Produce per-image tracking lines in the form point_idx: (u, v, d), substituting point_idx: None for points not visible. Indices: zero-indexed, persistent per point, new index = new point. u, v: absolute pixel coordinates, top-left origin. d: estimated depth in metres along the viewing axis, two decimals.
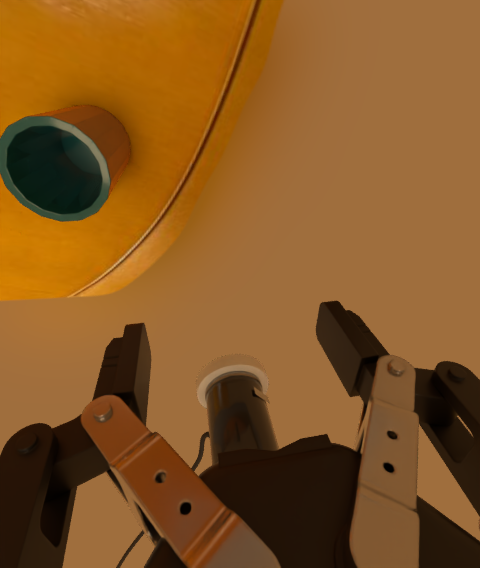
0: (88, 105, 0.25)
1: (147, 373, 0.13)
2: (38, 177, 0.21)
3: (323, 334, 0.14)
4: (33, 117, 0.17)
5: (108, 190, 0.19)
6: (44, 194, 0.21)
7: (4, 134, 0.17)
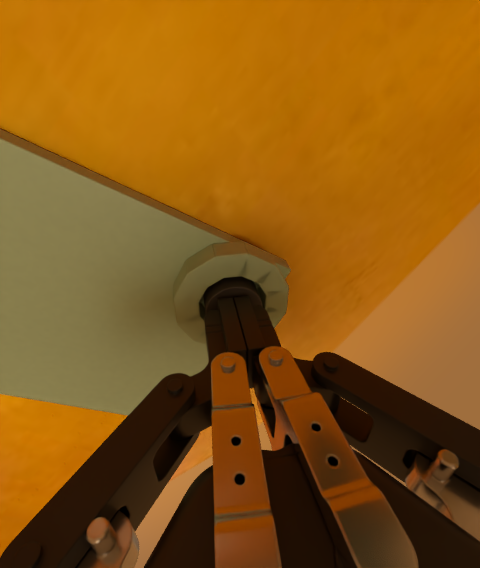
0: None
1: None
2: None
3: None
4: None
5: None
6: None
7: None
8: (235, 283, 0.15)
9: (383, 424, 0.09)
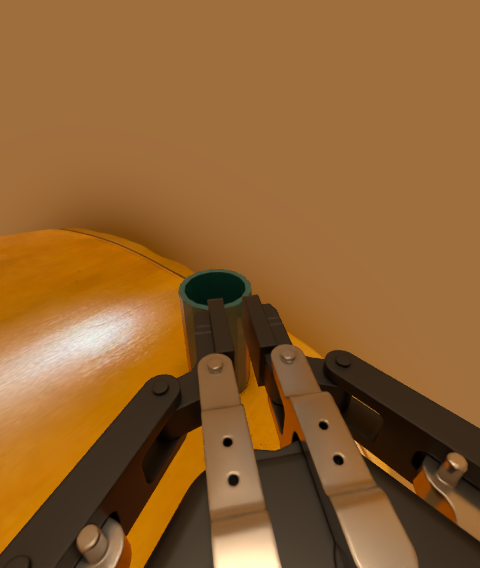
0: None
1: None
2: None
3: (245, 327, 0.15)
4: (182, 282, 0.26)
5: (239, 274, 0.28)
6: None
7: (180, 294, 0.25)
8: None
9: (392, 424, 0.09)
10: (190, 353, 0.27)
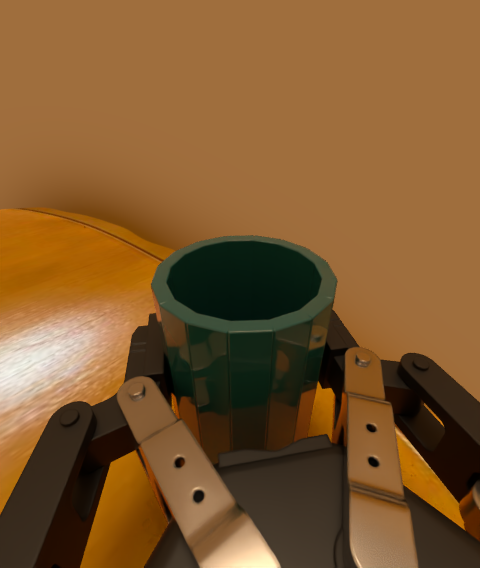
0: None
1: None
2: None
3: None
4: (164, 260, 0.11)
5: (294, 245, 0.12)
6: None
7: (156, 290, 0.09)
8: None
9: (454, 436, 0.09)
10: None
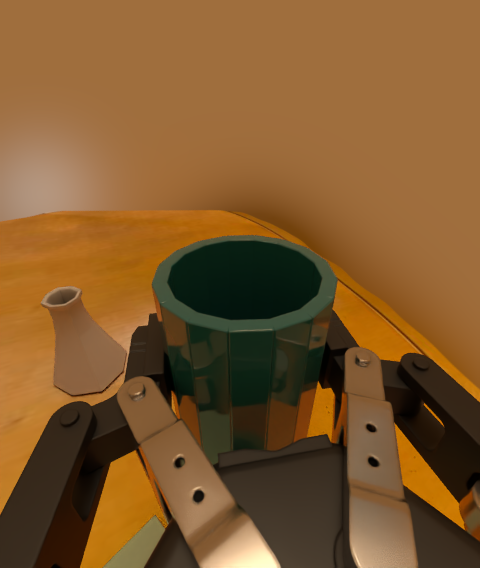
0: None
1: None
2: None
3: None
4: (164, 260, 0.11)
5: (295, 244, 0.12)
6: None
7: (156, 289, 0.09)
8: None
9: (454, 436, 0.09)
10: None
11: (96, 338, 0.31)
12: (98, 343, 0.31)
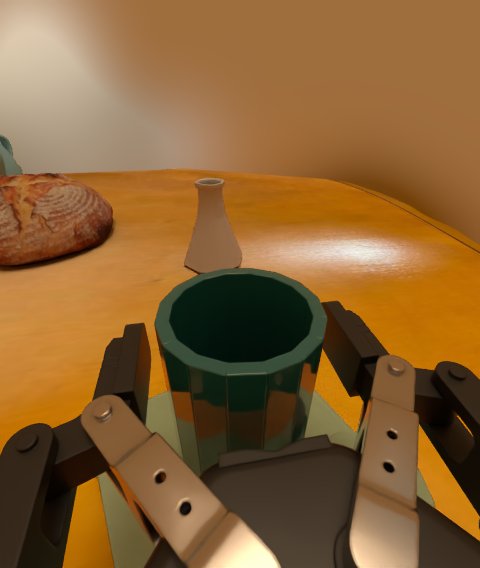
0: None
1: (147, 373, 0.13)
2: None
3: None
4: (166, 296, 0.12)
5: (289, 278, 0.13)
6: None
7: (159, 329, 0.10)
8: None
9: None
10: (183, 450, 0.13)
11: (226, 227, 0.36)
12: (227, 232, 0.36)
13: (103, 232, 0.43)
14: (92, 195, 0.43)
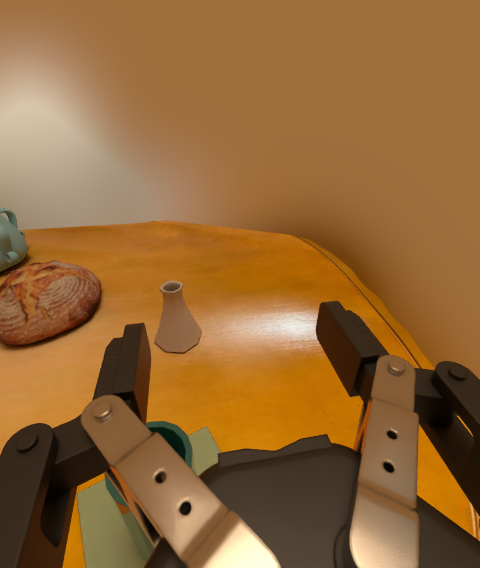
0: None
1: (147, 373, 0.13)
2: None
3: (324, 334, 0.14)
4: None
5: (182, 431, 0.24)
6: None
7: (106, 476, 0.21)
8: None
9: None
10: None
11: (185, 317, 0.47)
12: (186, 320, 0.47)
13: (92, 309, 0.54)
14: (83, 280, 0.54)
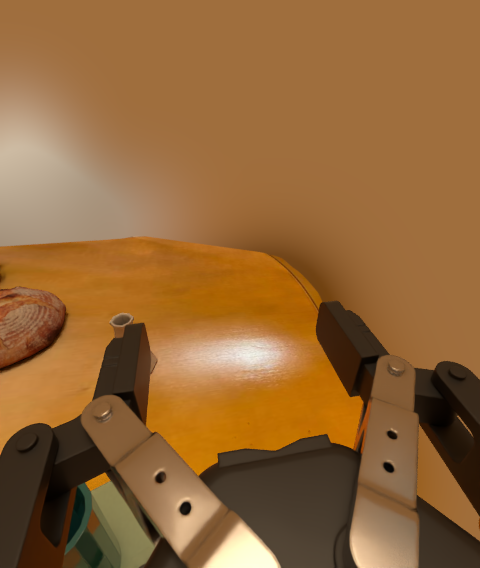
0: None
1: (147, 373, 0.13)
2: None
3: (324, 334, 0.14)
4: None
5: (87, 488, 0.25)
6: None
7: None
8: None
9: None
10: None
11: None
12: None
13: (53, 336, 0.55)
14: (44, 308, 0.55)
